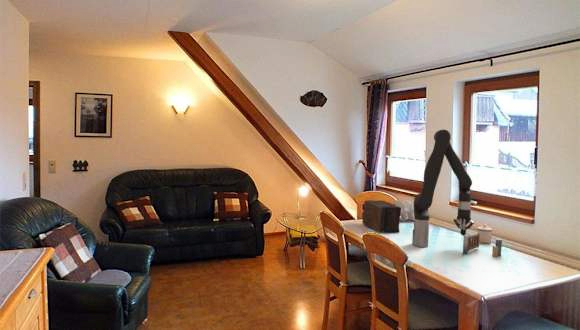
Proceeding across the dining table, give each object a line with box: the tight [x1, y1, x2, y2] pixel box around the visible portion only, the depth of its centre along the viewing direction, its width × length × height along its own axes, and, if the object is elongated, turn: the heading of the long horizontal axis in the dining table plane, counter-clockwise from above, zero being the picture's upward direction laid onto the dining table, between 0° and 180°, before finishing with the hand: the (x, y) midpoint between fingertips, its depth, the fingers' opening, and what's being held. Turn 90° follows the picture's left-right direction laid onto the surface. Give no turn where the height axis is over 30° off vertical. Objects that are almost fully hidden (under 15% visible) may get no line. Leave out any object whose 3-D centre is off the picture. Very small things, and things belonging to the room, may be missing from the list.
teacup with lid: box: [476, 224, 493, 244], centre depth 280 cm, size 12×9×12 cm
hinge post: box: [462, 235, 469, 256], centre depth 249 cm, size 2×2×11 cm
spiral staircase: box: [394, 199, 414, 222], centre depth 339 cm, size 18×18×25 cm
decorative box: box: [362, 199, 401, 234], centre depth 309 cm, size 31×20×20 cm
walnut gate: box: [467, 232, 480, 253], centre depth 255 cm, size 16×2×9 cm, turn 133°
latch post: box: [491, 238, 503, 258], centre depth 247 cm, size 5×4×10 cm
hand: (463, 235), depth 261 cm, fingers closed
